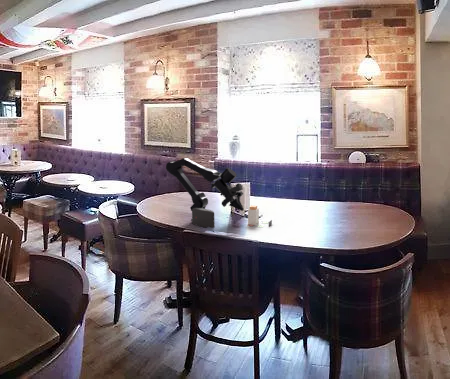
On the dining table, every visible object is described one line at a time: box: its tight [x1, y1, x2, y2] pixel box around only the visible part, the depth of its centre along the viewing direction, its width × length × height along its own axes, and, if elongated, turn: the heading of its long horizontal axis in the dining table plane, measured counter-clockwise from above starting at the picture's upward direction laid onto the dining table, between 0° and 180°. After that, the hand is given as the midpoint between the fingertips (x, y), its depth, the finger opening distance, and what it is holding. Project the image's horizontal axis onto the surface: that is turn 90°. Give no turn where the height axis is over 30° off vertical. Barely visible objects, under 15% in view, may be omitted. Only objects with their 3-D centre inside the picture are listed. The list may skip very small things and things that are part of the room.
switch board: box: [247, 219, 273, 228], centre depth 215 cm, size 16×11×4 cm
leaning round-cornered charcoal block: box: [191, 208, 215, 229], centre depth 215 cm, size 16×5×9 cm, turn 47°
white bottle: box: [247, 205, 260, 226], centre depth 214 cm, size 4×4×10 cm
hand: (243, 210), depth 216 cm, fingers closed
